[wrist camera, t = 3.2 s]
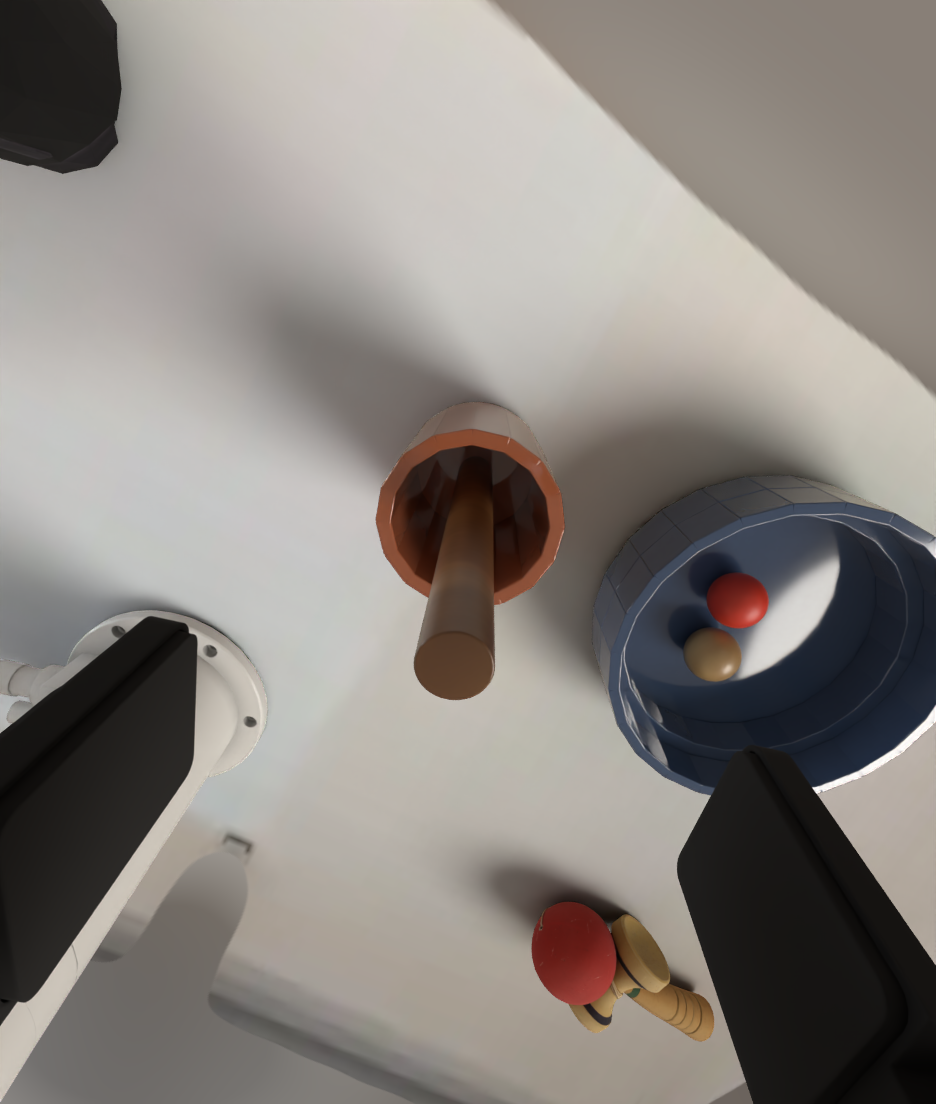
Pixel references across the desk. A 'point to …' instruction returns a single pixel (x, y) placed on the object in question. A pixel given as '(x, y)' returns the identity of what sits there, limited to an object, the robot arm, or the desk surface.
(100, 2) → the portable speaker
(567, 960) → the kendama
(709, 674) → the beech bead
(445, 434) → the holder
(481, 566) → the stick
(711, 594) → the red bead
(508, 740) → the desk surface
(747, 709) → the bowl
